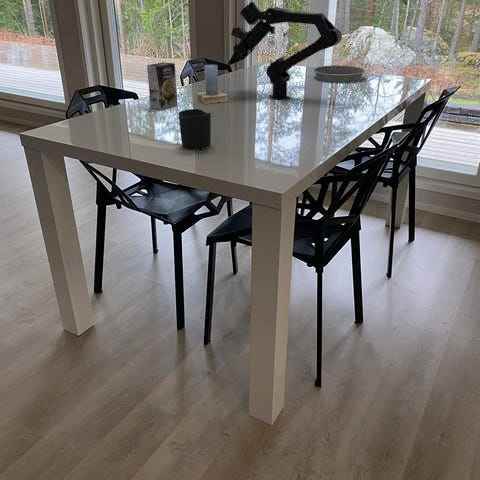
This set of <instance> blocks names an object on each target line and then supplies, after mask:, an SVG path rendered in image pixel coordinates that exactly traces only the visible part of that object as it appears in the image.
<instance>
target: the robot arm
mask: <svg viewBox="0 0 480 480" xmlns="http://www.w3.org/2000/svg"><path fill="white" fill-rule="evenodd" d="M239 15H240V16H241V17H242V18H243V19H244V21H245V22H246V23H247V24H248V26H251V25H252V26H253V27H252V28H251V30H248V31H246V30H244V29H242V27H241V28H240V27H239V26H236V25H234V26H233V28H232V29H231V33H230V36H232V37H236V38H238V39H239V41H238V42H237V43H235V45H233V54H232V55H231V57H230V59H229V61H228V62H227V65H228V66H229V67H230V66H232V65H233V64H236V63H238V62H240V61H243V60H245V59H246V58H247V57H248V56H249V55H250V54H251V53H253V51H254V50H255V48H256V47H257V46H258V45H259V44H260V43H261V41H262V40H263V39H265V37H266V36H267V35H268V34H269V33H270V34H271V35H276V31H275V30H276V27H275V26H272V25H275V24H276V25H277V24H281V23H295V24H308V25H314V26H315V28H316V29H317V31H318V34H320V36H319V37H318V38H317V39H316V40H315V41H314V42H313V43H311V44H309V45H308V46H306V47H304V48H302V49H301V50H300V51H298V52H296V53H294V54H293V55H291V56H289V57H287V58H286V59H284V56H281V57H279V58H277V59H276V60H274V61H272V62H270V63H269V65H268V66H267V67H266V75H267V77H268V78H269V82H270V84H271V85H272V94H270V95H269V97H270V98H273V99H274V100H283V99H285V100H286V99H290V98H291V97H290V96H289V95H287V94H288V93H287V91H288V82H289V81H290V78H291V75H290V73H288V72H289V71H290V70H291V68H293V67H294V66H296V65H298V64H300V63H301V62H303V61H304V60H306V59H308V58H309V57H311V56H313V55H315V54H316V53H318V52H320V51H322V50H326V49H328V48H331V47H333V46H336V45H338V44H339V43H340V42H341V41H342V39H343V35H342V32H341V30H340V29H338V28H336V27H335V26H334V25H333V23H332V22H331V21H330V20H329V19H328V18H327V17H326V15H325V14H324V13H323V12H307V11H306V12H305V11H292V10H288V9H286V8H282V7H278V6H273V7H268V8H267V9H266V10H264V11H263V10H262V11H261V10H260V9H259V7H258V6H257V4H256V3H255V2H254V1H250V2H249V3H248V4H247V5H246V6H245V7H243V8H242V10H240V13H239Z"/></svg>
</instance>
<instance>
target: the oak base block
mask: <svg viewBox="0 0 480 480" xmlns="http://www.w3.org/2000/svg"><path fill="white" fill-rule="evenodd" d="M218 91H219V94H218V95H213V96H210V95H206V91H202V92H196V100H197V101H199V102H201V103H202V104H204V105H210V103H212V104H218V103H217V102H221V103H227V101H228V102H229V94H227V93H224V92H222V91H220V90H218Z"/></svg>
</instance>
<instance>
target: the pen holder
mask: <svg viewBox="0 0 480 480" xmlns="http://www.w3.org/2000/svg"><path fill="white" fill-rule="evenodd" d="M211 116H212V115H211V112H205V111H204V110H202V109H199V108H191V109H190V108H189V109H184V110H181V111H179V112H178V121H179V132H180V141H181V145H182V147H183V148H184V149H186V150H190V149H200V150H203V149H202V148H205V149H207V148H206V147H208V146H209V147H210V146H211V135H212V134H211V131H212V130H211V128H212V127H211V125H212V123H211V121H212V120H211ZM209 147H208V148H209Z"/></svg>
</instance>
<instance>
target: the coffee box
mask: <svg viewBox="0 0 480 480" xmlns="http://www.w3.org/2000/svg"><path fill="white" fill-rule="evenodd" d="M146 68H147V69H146V71H147V82H148V93H149V104H150V106H149V107H150V108H151V109H154V110H159V111H164V110H167V109H171V108H175V107H177V106H178V93H177V80H176V79H177V78H176V64H175V63H173V62H164V61H163V62H158V63H152V64H147V65H146Z"/></svg>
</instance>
